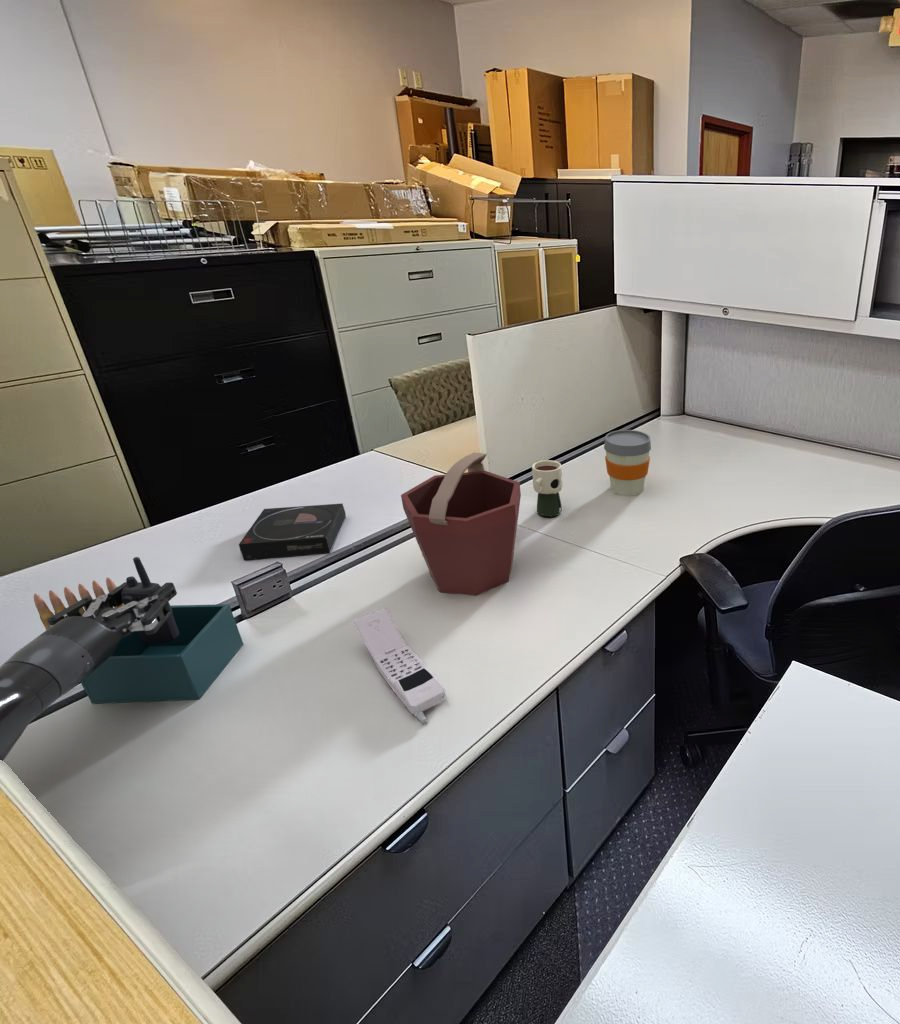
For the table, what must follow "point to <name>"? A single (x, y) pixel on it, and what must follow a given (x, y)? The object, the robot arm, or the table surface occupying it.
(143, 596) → the two-way radio
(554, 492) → the character mug
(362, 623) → the mobile phone
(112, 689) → the bin
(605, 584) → the table surface
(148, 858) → the table surface
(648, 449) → the reusable coffee cup
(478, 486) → the bucket
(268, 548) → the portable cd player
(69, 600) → the ammunition clip
